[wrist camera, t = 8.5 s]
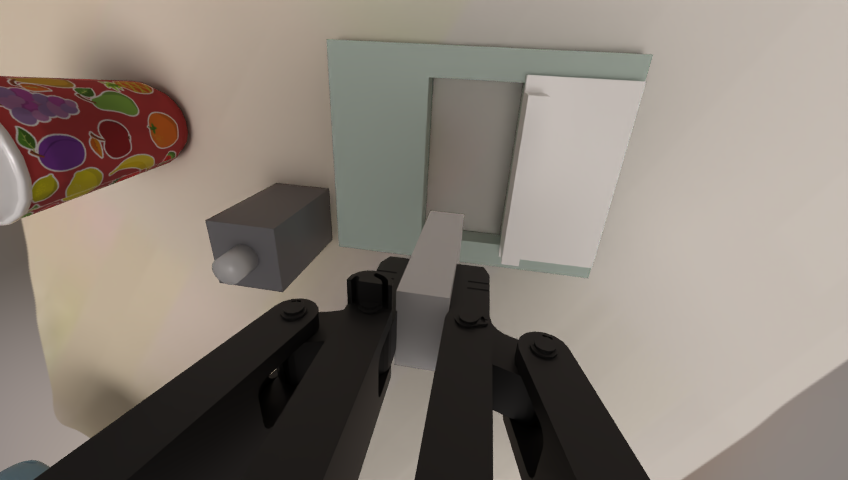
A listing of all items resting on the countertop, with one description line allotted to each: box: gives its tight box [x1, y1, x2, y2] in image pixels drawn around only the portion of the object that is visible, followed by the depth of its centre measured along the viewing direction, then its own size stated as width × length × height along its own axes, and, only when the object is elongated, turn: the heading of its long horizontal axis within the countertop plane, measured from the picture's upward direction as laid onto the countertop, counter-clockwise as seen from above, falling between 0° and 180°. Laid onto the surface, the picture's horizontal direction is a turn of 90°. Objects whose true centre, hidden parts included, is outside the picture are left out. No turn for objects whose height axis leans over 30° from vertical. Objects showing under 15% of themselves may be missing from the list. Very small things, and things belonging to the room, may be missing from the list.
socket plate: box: [327, 39, 653, 278], centre depth 28 cm, size 21×16×2 cm
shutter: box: [499, 75, 646, 268], centre depth 24 cm, size 7×13×4 cm, turn 177°
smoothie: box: [0, 76, 188, 226], centre depth 23 cm, size 8×8×20 cm
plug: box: [205, 183, 332, 292], centre depth 29 cm, size 5×5×11 cm
